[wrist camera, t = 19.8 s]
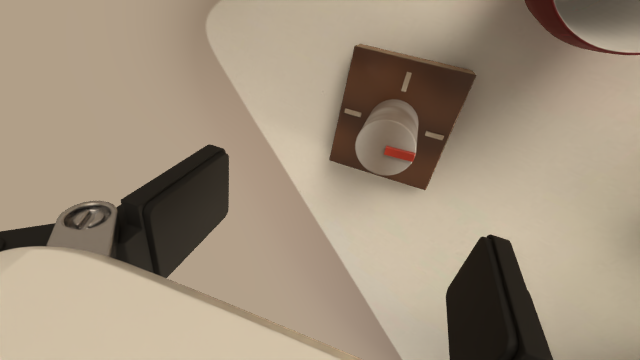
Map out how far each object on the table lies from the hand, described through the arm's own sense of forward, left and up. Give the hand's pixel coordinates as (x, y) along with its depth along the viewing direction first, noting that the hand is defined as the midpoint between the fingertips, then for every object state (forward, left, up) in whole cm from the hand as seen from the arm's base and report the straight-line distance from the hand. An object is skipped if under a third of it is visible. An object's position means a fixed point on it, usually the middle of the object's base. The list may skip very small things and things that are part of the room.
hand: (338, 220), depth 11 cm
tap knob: (+1, +1, -16) cm, 16 cm away
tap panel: (+1, +1, -18) cm, 18 cm away
